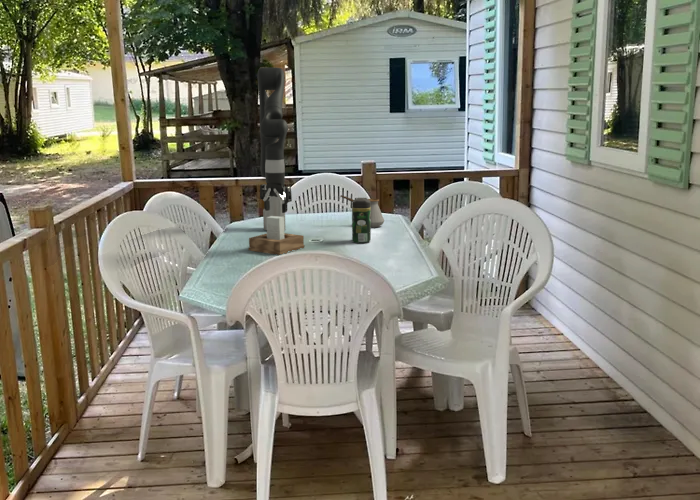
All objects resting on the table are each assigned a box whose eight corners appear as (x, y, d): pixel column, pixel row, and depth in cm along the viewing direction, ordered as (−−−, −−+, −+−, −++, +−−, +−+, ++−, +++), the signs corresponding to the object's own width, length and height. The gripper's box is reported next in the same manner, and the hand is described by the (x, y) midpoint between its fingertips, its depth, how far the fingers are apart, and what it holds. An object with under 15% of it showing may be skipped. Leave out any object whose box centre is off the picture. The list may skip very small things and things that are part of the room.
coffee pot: (383, 224, 331) (383, 193, 327) (385, 228, 320) (385, 196, 316) (339, 224, 330) (339, 193, 327) (339, 228, 319) (339, 196, 316)
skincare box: (284, 245, 277) (284, 216, 275) (280, 247, 273) (279, 218, 271) (271, 244, 279) (271, 215, 277) (266, 246, 276) (265, 217, 273)
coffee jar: (352, 239, 296) (352, 196, 292) (371, 239, 295) (371, 196, 291) (351, 243, 286) (351, 199, 282) (370, 244, 286) (370, 199, 282)
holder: (248, 250, 274) (248, 238, 273) (273, 243, 287) (273, 231, 286) (280, 255, 265) (279, 242, 264) (304, 247, 279) (304, 235, 278)
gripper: (254, 170, 270) (256, 211, 274) (283, 173, 262) (284, 214, 266) (266, 168, 276) (267, 208, 280) (295, 171, 269) (295, 211, 272)
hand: (275, 211), depth 273 cm, fingers open, 8 cm apart
